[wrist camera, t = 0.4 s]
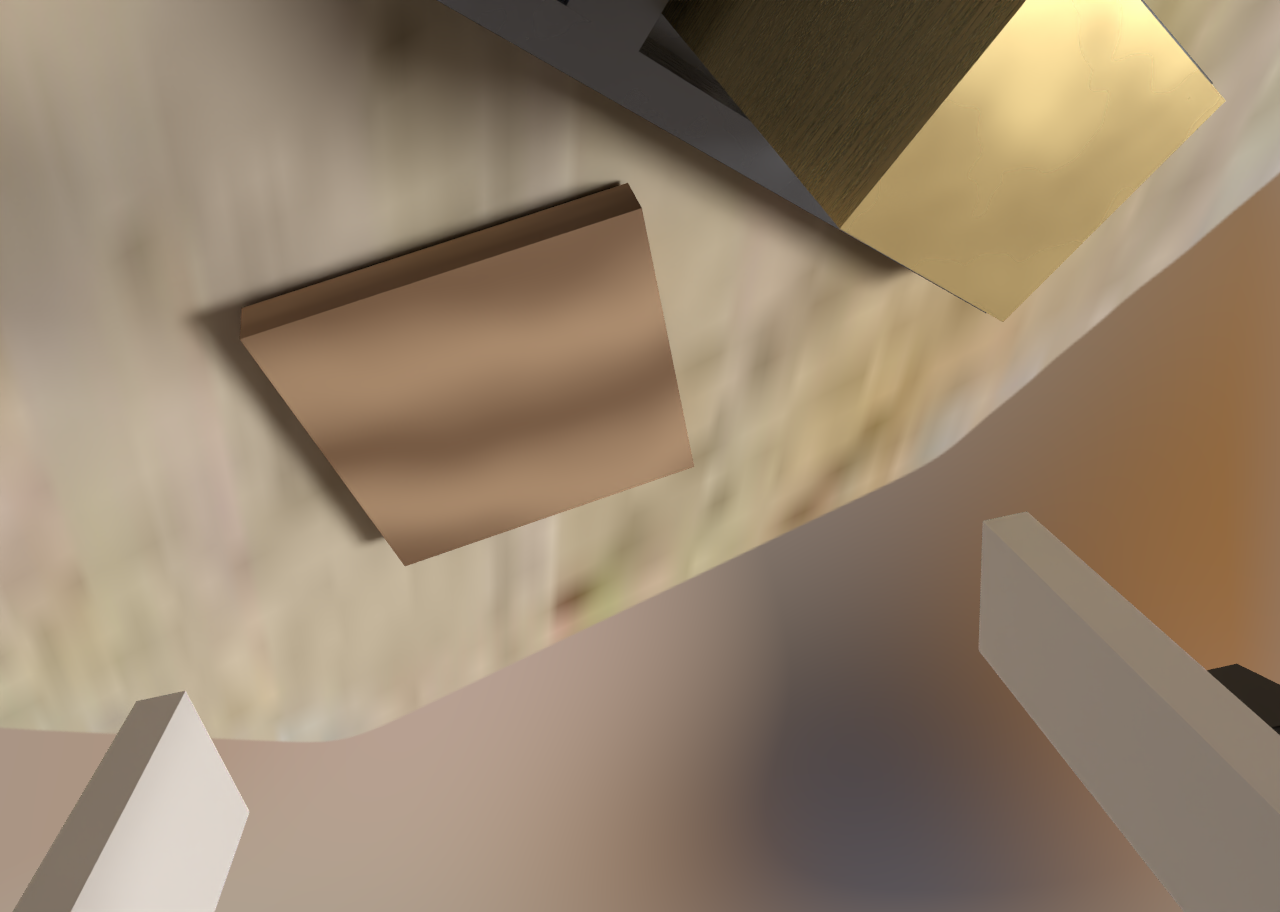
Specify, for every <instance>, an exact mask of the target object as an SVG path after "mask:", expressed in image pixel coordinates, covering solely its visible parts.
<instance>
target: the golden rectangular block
mask: <svg viewBox="0 0 1280 912" xmlns="http://www.w3.org/2000/svg"><path fill="white" fill-rule="evenodd" d="M661 14H662V15H663V16H664V17H665V18H666V20H667V21H668V22H669V23H670V24H671V26H672V27H673V28H674V29H675V30H676V32H677V33H678V34H679V35H680V36H681V38H682V39H683V40H684V41H685V43H686V44H687V45H688V46H689V47H690V49H691V50H692V51H693V52H694V53H695V55H696V56H697V57H698V58H699V59H700V61H701V62H702V63H703V64H704V65H705V67H706V68H707V69H708V70H709V72H710V73H711V74H712V75H713V76H714V78H715V79H716V80H717V81H718V82H719V84H720V85H721V86H722V87H723V88H724V90H725V91H726V92H727V93H728V94H729V96H730V97H731V98H732V99H733V101H734V102H735V103H736V104H737V105H738V107H739V108H740V109H741V110H742V111H743V113H744V114H745V115H746V116H747V117H748V119H749V120H750V121H751V122H752V123H753V125H754V126H755V127H756V128H757V130H758V131H759V132H760V133H761V134H762V136H763V137H764V138H765V139H766V140H767V142H768V143H769V144H770V145H771V146H772V148H773V149H774V150H775V151H776V152H777V154H778V155H779V156H780V157H781V158H782V160H783V161H784V162H785V163H786V165H787V166H788V167H789V168H790V169H791V171H792V172H793V173H794V174H795V175H796V177H797V178H798V179H799V180H800V181H801V183H802V184H803V185H804V186H805V187H806V189H807V190H808V191H809V192H810V194H811V195H812V196H813V197H814V198H815V200H816V201H817V202H818V203H819V204H820V206H821V207H822V208H823V209H824V210H825V212H826V213H827V214H828V215H829V216H830V218H831V219H832V220H833V221H834V223H835V224H836V225H837V226H838V227H839V229H841V230H843V231H844V232H846V233H848V234H850V235H851V236H853V237H855V238H857V239H858V240H860V241H862V242H864V243H865V244H867V245H869V246H871V247H872V248H874V249H876V250H878V251H879V252H881V253H883V254H885V255H886V256H888V257H890V258H892V259H893V260H895V261H897V262H899V263H900V264H902V265H904V266H906V267H907V268H909V269H911V270H913V271H914V272H916V273H918V274H920V275H921V276H923V277H925V278H927V279H928V280H930V281H932V282H934V283H935V284H937V285H939V286H941V287H942V288H944V289H946V290H948V291H949V292H951V293H953V294H955V295H956V296H958V297H960V298H962V299H963V300H965V301H967V302H969V303H970V304H972V305H974V306H976V307H977V308H979V309H981V310H983V311H984V312H986V313H988V314H990V315H991V316H993V317H995V318H997V319H998V320H1000V321H1002V322H1004V321H1005V320H1006V319H1007V318H1008V317H1009V316H1010V315H1011V314H1012V313H1013V312H1014V311H1015V310H1016V309H1017V308H1018V307H1019V306H1020V305H1021V304H1022V303H1023V302H1024V301H1025V300H1026V299H1027V298H1028V297H1029V296H1030V295H1031V294H1032V293H1033V292H1034V291H1035V290H1036V289H1037V288H1038V287H1039V286H1040V285H1041V284H1042V283H1043V282H1044V281H1045V280H1046V279H1047V278H1048V277H1049V276H1050V275H1051V274H1052V273H1053V272H1054V271H1055V270H1056V269H1057V268H1058V267H1059V266H1060V265H1061V264H1062V263H1063V262H1064V261H1065V260H1066V259H1067V258H1068V257H1069V256H1070V255H1071V254H1072V253H1073V252H1074V251H1075V250H1076V249H1077V248H1078V247H1079V246H1080V245H1081V244H1082V243H1083V242H1084V241H1085V240H1086V239H1087V238H1088V237H1089V236H1090V235H1091V234H1092V233H1093V232H1094V231H1095V230H1096V229H1097V228H1098V227H1099V226H1100V225H1101V224H1102V223H1103V222H1104V221H1105V220H1106V219H1107V218H1108V217H1109V216H1110V215H1111V214H1112V213H1113V212H1114V211H1115V210H1116V209H1117V208H1118V207H1119V206H1120V205H1121V204H1122V203H1123V202H1124V201H1125V200H1126V199H1127V198H1128V197H1129V196H1130V195H1131V194H1132V193H1133V192H1134V191H1135V190H1136V189H1137V188H1138V187H1139V186H1140V185H1141V184H1142V183H1143V182H1144V181H1145V180H1146V179H1147V178H1148V177H1149V176H1150V175H1151V174H1152V173H1153V172H1154V171H1155V170H1156V169H1157V168H1158V167H1159V166H1160V165H1161V164H1162V163H1163V162H1164V161H1165V160H1166V159H1167V158H1168V157H1169V156H1171V155H1172V154H1173V153H1174V152H1175V151H1176V150H1177V149H1178V148H1179V147H1180V146H1181V145H1182V144H1183V143H1184V142H1185V141H1186V140H1187V139H1188V138H1189V137H1190V136H1191V135H1192V134H1193V133H1194V132H1195V131H1196V130H1197V129H1198V128H1199V127H1200V126H1201V125H1202V124H1203V123H1204V122H1205V121H1206V120H1207V119H1208V118H1209V117H1210V116H1211V115H1212V114H1213V113H1214V112H1215V111H1216V110H1217V109H1218V108H1219V107H1220V106H1221V105H1222V104H1223V103H1224V102H1225V99H1224V98H1223V97H1222V96H1221V95H1220V94H1219V92H1218V91H1217V90H1216V89H1215V88H1214V86H1213V85H1212V84H1211V83H1210V82H1209V81H1208V79H1207V78H1206V77H1205V76H1204V75H1203V73H1202V72H1201V71H1200V70H1199V69H1198V68H1197V66H1196V65H1195V64H1194V63H1193V62H1192V60H1191V59H1190V58H1189V57H1188V56H1187V55H1186V53H1185V52H1184V51H1183V50H1182V49H1181V47H1180V46H1179V45H1178V44H1177V43H1176V42H1175V40H1174V39H1173V38H1172V37H1171V36H1170V34H1169V33H1168V32H1167V31H1166V30H1165V29H1164V27H1163V26H1162V25H1161V24H1160V23H1159V21H1158V20H1157V19H1156V18H1155V17H1154V16H1153V14H1152V13H1151V12H1150V11H1149V10H1148V9H1147V7H1146V6H1145V5H1144V4H1143V3H1142V1H1141V0H669V1H668V3H667V4H666V6H665V8H664V9H663V11H662V13H661Z"/></svg>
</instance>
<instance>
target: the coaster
mask: <svg viewBox="0 0 1280 912" xmlns="http://www.w3.org/2000/svg"><path fill="white" fill-rule="evenodd" d="M240 340H241V342H242V343H243V345H244V346H245V347H246V349H247V350H248V351H249V353H250V354H251V356H252V357H253V358H254V360H255V361H256V362H257V364H258V365H259V367H260V368H261V369H262V371H263V372H264V373H265V375H266V376H267V378H268V379H269V380H270V382H271V383H272V384H273V386H274V387H275V388H276V390H277V391H278V393H279V394H280V395H281V397H282V398H283V399H284V401H285V402H286V404H287V405H288V406H289V408H290V409H291V410H292V412H293V413H294V415H295V416H296V417H297V419H298V420H299V421H300V423H301V424H302V426H303V427H304V428H305V430H306V431H307V432H308V434H309V435H310V437H311V438H312V439H313V441H314V442H315V443H316V445H317V446H318V448H319V449H320V450H321V452H322V453H323V454H324V456H325V457H326V459H327V460H328V461H329V463H330V464H331V465H332V467H333V468H334V469H335V471H336V472H337V474H338V475H339V476H340V478H341V479H342V480H343V482H344V483H345V485H346V486H347V487H348V489H349V490H350V491H351V493H352V494H353V496H354V497H355V498H356V500H357V501H358V502H359V504H360V505H361V507H362V508H363V509H364V511H365V512H366V513H367V515H368V516H369V518H370V519H371V520H372V522H373V523H374V524H375V526H376V527H377V529H378V530H379V531H380V533H381V534H382V535H383V537H384V538H385V540H386V541H387V542H388V544H389V545H390V546H391V548H392V549H393V550H394V552H395V553H396V555H397V556H398V557H399V559H400V560H401V561H402V563H403V564H404V566H407V565H410V564H413V563H416V562H419V561H422V560H425V559H427V558H430V557H433V556H436V555H439V554H442V553H445V552H448V551H451V550H454V549H456V548H459V547H462V546H465V545H468V544H471V543H474V542H477V541H480V540H483V539H485V538H488V537H491V536H494V535H497V534H500V533H503V532H506V531H509V530H512V529H514V528H517V527H520V526H523V525H526V524H529V523H532V522H535V521H538V520H541V519H544V518H546V517H549V516H552V515H555V514H558V513H561V512H564V511H567V510H570V509H573V508H575V507H578V506H581V505H584V504H587V503H590V502H593V501H596V500H599V499H602V498H604V497H607V496H610V495H613V494H616V493H619V492H622V491H625V490H628V489H631V488H633V487H636V486H639V485H642V484H645V483H648V482H651V481H654V480H657V479H660V478H662V477H665V476H668V475H671V474H674V473H677V472H680V471H683V470H686V469H689V468H692V467H694V464H693V459H692V454H691V449H690V444H689V439H688V434H687V429H686V424H685V419H684V415H683V410H682V405H681V400H680V395H679V390H678V385H677V380H676V375H675V370H674V365H673V360H672V355H671V350H670V346H669V341H668V336H667V331H666V326H665V321H664V316H663V311H662V306H661V301H660V296H659V291H658V286H657V281H656V276H655V272H654V267H653V262H652V257H651V252H650V247H649V242H648V237H647V232H646V227H645V222H644V217H643V212H642V208H641V206H640V204H639V202H638V201H637V199H636V197H635V195H634V193H633V192H632V190H631V188H630V186H629V184H628V183H626V184H623V185H620V186H617V187H614V188H611V189H608V190H604V191H601V192H598V193H595V194H592V195H589V196H586V197H583V198H580V199H577V200H574V201H571V202H567V203H564V204H561V205H558V206H555V207H552V208H549V209H546V210H543V211H540V212H537V213H534V214H530V215H527V216H524V217H521V218H518V219H515V220H512V221H509V222H506V223H503V224H500V225H497V226H493V227H490V228H487V229H484V230H481V231H478V232H475V233H472V234H469V235H466V236H463V237H460V238H456V239H453V240H450V241H447V242H444V243H441V244H438V245H435V246H432V247H429V248H426V249H423V250H419V251H416V252H413V253H410V254H407V255H404V256H401V257H398V258H395V259H392V260H389V261H386V262H382V263H379V264H376V265H373V266H370V267H367V268H364V269H361V270H358V271H355V272H352V273H349V274H345V275H342V276H339V277H336V278H333V279H330V280H327V281H324V282H321V283H318V284H315V285H312V286H308V287H305V288H302V289H299V290H296V291H293V292H290V293H287V294H284V295H281V296H278V297H275V298H271V299H268V300H265V301H262V302H259V303H256V304H253V305H250V306H247V307H244V308H242V311H241V327H240Z"/></svg>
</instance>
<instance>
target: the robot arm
mask: <svg viewBox="0 0 1280 912" xmlns="http://www.w3.org/2000/svg"><path fill="white" fill-rule="evenodd" d="M980 596H981V597H980V628H979V651H980V653H981V654H982V655H983V656H984V658H985V659H986V660H987V662H988V663H989V664H990V665H991V667H992V668H993V669H994V670H995V672H996V673H997V674H998V676H999V677H1000V678H1001V679H1002V681H1003V682H1004V683H1005V684H1006V686H1007V687H1008V688H1009V689H1010V691H1011V692H1012V693H1013V695H1014V696H1015V697H1016V698H1017V700H1018V701H1019V702H1020V703H1021V705H1022V706H1023V707H1024V709H1025V710H1026V711H1027V713H1028V714H1029V715H1030V716H1031V718H1032V719H1033V720H1034V721H1035V723H1036V724H1037V725H1038V726H1039V728H1040V729H1041V730H1042V732H1043V733H1044V734H1045V735H1046V737H1047V738H1048V739H1049V741H1050V742H1051V743H1052V744H1053V746H1054V747H1055V748H1056V750H1057V751H1058V752H1059V753H1060V755H1061V756H1062V757H1063V758H1064V760H1065V761H1066V762H1067V764H1068V765H1069V766H1070V767H1071V768H1072V770H1073V771H1074V773H1075V774H1076V775H1077V776H1078V778H1079V779H1080V780H1081V781H1082V783H1083V784H1084V785H1085V787H1086V788H1087V789H1088V790H1089V792H1090V793H1091V794H1092V795H1093V797H1094V798H1095V799H1096V801H1097V802H1098V803H1099V804H1100V805H1101V807H1102V808H1103V810H1104V811H1105V812H1106V813H1107V815H1108V816H1109V817H1110V818H1111V820H1112V821H1113V822H1114V824H1115V825H1116V826H1117V827H1118V829H1119V830H1120V831H1121V832H1122V834H1123V835H1124V836H1125V838H1126V839H1127V840H1128V841H1129V843H1130V844H1131V845H1132V846H1133V848H1134V849H1135V850H1136V852H1137V853H1138V854H1139V855H1140V857H1141V858H1142V859H1143V861H1144V862H1145V863H1146V864H1147V865H1148V867H1149V868H1150V869H1151V871H1152V872H1153V873H1154V875H1155V876H1156V877H1157V878H1158V880H1159V881H1160V882H1161V883H1162V885H1163V886H1164V887H1165V889H1166V890H1167V891H1168V892H1169V894H1170V895H1171V896H1172V898H1173V899H1174V900H1175V901H1176V903H1177V904H1178V905H1179V906H1180V908H1181V909H1182V910H1183V912H1280V685H1279V684H1277V683H1275V682H1273V681H1271V680H1269V679H1267V678H1265V677H1263V676H1261V675H1259V674H1257V673H1255V672H1253V671H1251V670H1249V669H1247V668H1244V667H1242V666H1240V665H1238V664H1234V665H1229V666H1225V667H1221V668H1216V669H1211V670H1205V669H1204V668H1203V667H1202V666H1201V665H1200V664H1199V663H1198V662H1196V661H1195V660H1194V659H1193V658H1192V657H1191V656H1190V655H1188V654H1187V653H1186V652H1185V651H1184V650H1183V649H1182V648H1180V647H1179V646H1178V645H1177V644H1176V643H1175V642H1174V641H1173V640H1172V639H1170V638H1169V637H1168V636H1167V635H1166V634H1165V633H1164V632H1162V631H1161V630H1160V629H1159V628H1158V627H1156V625H1154V624H1153V623H1152V622H1151V621H1150V620H1149V619H1148V618H1147V617H1145V616H1144V615H1143V614H1142V613H1141V612H1140V611H1139V610H1138V609H1136V608H1135V607H1134V606H1133V605H1132V604H1131V603H1130V602H1129V601H1127V600H1126V599H1125V598H1124V597H1123V596H1122V595H1121V594H1119V593H1118V592H1117V591H1116V590H1115V589H1114V588H1113V587H1112V586H1110V585H1109V584H1108V583H1107V582H1106V581H1105V580H1104V579H1103V578H1101V577H1100V576H1099V575H1098V574H1097V573H1096V572H1095V571H1093V570H1092V569H1091V568H1090V567H1089V566H1088V565H1087V564H1086V563H1084V562H1083V561H1082V560H1081V559H1080V558H1079V557H1078V556H1076V555H1075V554H1074V553H1073V552H1072V551H1071V550H1070V549H1069V548H1067V547H1066V546H1065V545H1064V544H1063V543H1062V542H1061V541H1060V540H1058V539H1057V538H1056V537H1055V536H1054V535H1053V534H1051V532H1049V531H1048V530H1047V529H1046V528H1045V527H1044V526H1042V525H1041V524H1040V523H1039V522H1038V521H1037V520H1036V519H1035V518H1034V517H1032V516H1031V515H1030V514H1029V513H1028V512H1023V513H1018V514H1013V515H1009V516H1004V517H1000V518H995V519H990V520H985V521H983V532H982V564H981V595H980ZM248 815H249V810H248V808H247V806H246V804H245V802H244V801H243V798H242V797H241V795H240V793H239V791H238V789H237V787H236V785H235V783H234V781H233V780H232V778H231V776H230V774H229V772H228V770H227V768H226V766H225V765H224V763H223V761H222V759H221V757H220V755H219V753H218V751H217V749H216V747H215V745H214V744H213V742H212V740H211V738H210V736H209V734H208V732H207V730H206V728H205V727H204V725H203V723H202V721H201V719H200V717H199V715H198V713H197V711H196V709H195V708H194V706H193V704H192V702H191V700H190V698H189V696H188V694H187V692H186V691H182V692H178V693H173V694H168V695H164V696H159V697H154V698H150V699H145V700H140V701H136V703H135V705H134V706H133V708H132V710H131V712H130V713H129V715H128V717H127V718H126V720H125V722H124V723H123V725H122V727H121V729H120V730H119V732H118V734H117V735H116V737H115V739H114V741H113V743H112V744H111V746H110V747H109V749H108V751H107V753H106V754H105V756H104V758H103V759H102V761H101V763H100V764H99V766H98V768H97V769H96V771H95V773H94V775H93V776H92V778H91V780H90V781H89V783H88V785H87V786H86V788H85V790H84V792H83V793H82V795H81V797H80V798H79V800H78V802H77V804H76V805H75V807H74V809H73V810H72V812H71V814H70V815H69V817H68V819H67V820H66V822H65V824H64V825H63V827H62V829H61V831H60V833H59V834H58V836H57V837H56V839H55V841H54V842H53V844H52V846H51V848H50V850H49V851H48V853H47V855H46V856H45V858H44V859H43V861H42V863H41V865H40V866H39V868H38V870H37V871H36V873H35V875H34V876H33V878H32V880H31V882H30V883H29V885H28V887H27V888H26V890H25V892H24V893H23V895H22V897H21V899H20V900H19V902H18V904H17V905H16V907H15V909H14V911H13V912H214V911H215V909H216V906H217V903H218V900H219V897H220V894H221V891H222V888H223V886H224V883H225V880H226V877H227V874H228V872H229V868H230V866H231V863H232V860H233V857H234V855H235V852H236V849H237V846H238V843H239V840H240V838H241V834H242V832H243V829H244V826H245V823H246V820H247V818H248Z"/></svg>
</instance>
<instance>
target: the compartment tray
mask: <svg viewBox="0 0 1280 912" xmlns="http://www.w3.org/2000/svg"><path fill="white" fill-rule="evenodd" d="M437 1H439V2H441V3H443V4H444V5H446V6H448V7H450V8H451V9H453V10H455V11H457V12H458V13H460V14H462V15H464V16H465V17H467V18H469V19H471V20H472V21H474V22H476V23H478V24H479V25H481V26H483V27H485V28H486V29H488V30H490V31H492V32H493V33H495V34H497V35H499V36H500V37H502V38H504V39H506V40H507V41H509V42H511V43H513V44H515V45H516V46H518V47H520V48H522V49H523V50H525V51H527V52H529V53H530V54H532V55H534V56H536V57H537V58H539V59H541V60H543V61H544V62H546V63H548V64H550V65H551V66H553V67H555V68H557V69H558V70H560V71H562V72H564V73H565V74H567V75H569V76H571V77H572V78H574V79H576V80H578V81H579V82H581V83H583V84H585V85H586V86H588V87H590V88H592V89H593V90H595V91H597V92H599V93H600V94H602V95H604V96H606V97H607V98H609V99H611V100H613V101H614V102H616V103H618V104H620V105H621V106H623V107H625V108H627V109H629V110H630V111H632V112H634V113H636V114H637V115H639V116H641V117H643V118H644V119H646V120H648V121H650V122H651V123H653V124H655V125H657V126H658V127H660V128H662V129H664V130H665V131H667V132H669V133H671V134H672V135H674V136H676V137H678V138H679V139H681V140H683V141H685V142H686V143H688V144H690V145H692V146H693V147H695V148H697V149H699V150H700V151H702V152H704V153H706V154H707V155H709V156H711V157H713V158H714V159H716V160H718V161H720V162H721V163H723V164H725V165H727V166H728V167H730V168H732V169H734V170H736V171H737V172H739V173H741V174H743V175H744V176H746V177H748V178H750V179H751V180H753V181H755V182H757V183H758V184H760V185H762V186H764V187H765V188H767V189H769V190H771V191H772V192H774V193H776V194H778V195H779V196H781V197H783V198H785V199H786V200H788V201H790V202H792V203H793V204H795V205H797V206H799V207H800V208H802V209H804V210H806V211H807V212H809V213H811V214H813V215H814V216H816V217H818V218H820V219H821V220H823V221H825V222H827V223H828V224H830V225H832V226H834V227H835V228H837V229H839V227H838V226H837V225H836V224H835V223H834V221H833V220H832V219H831V218H830V216H829V215H828V214H827V213H826V212H825V210H824V209H823V208H822V207H821V206H820V204H819V203H818V202H817V201H816V200H815V198H814V197H813V196H812V195H811V194H810V192H809V191H808V190H807V189H806V187H805V186H804V185H803V184H802V183H801V181H800V180H799V179H798V178H797V177H796V175H795V174H794V173H793V172H792V171H791V169H790V168H789V167H788V166H787V165H786V163H785V162H784V161H783V160H782V158H781V157H780V156H779V155H778V154H777V152H776V151H775V150H774V149H773V148H772V146H771V145H770V144H769V143H768V142H767V140H766V139H765V138H764V137H763V136H762V134H761V133H760V132H759V131H758V130H757V128H756V127H755V126H754V125H753V123H752V122H751V121H750V120H749V119H748V117H747V116H746V115H745V114H744V113H743V111H742V110H741V109H740V108H739V107H738V105H737V104H736V103H735V102H734V101H733V99H732V98H731V97H730V96H729V94H728V93H727V92H726V91H725V90H724V88H723V87H722V86H721V85H720V84H719V82H718V81H717V80H716V79H715V78H714V76H713V75H712V74H711V73H710V72H709V70H708V69H707V68H706V67H705V65H704V64H703V63H702V62H701V61H700V59H699V58H698V57H697V56H696V55H695V53H694V52H693V51H692V50H691V49H690V47H689V46H688V45H687V44H686V43H685V41H684V40H683V39H682V38H681V36H680V35H679V34H678V33H677V32H676V30H675V29H674V28H673V27H672V26H671V24H670V23H669V22H668V21H667V20H666V18H665V17H664V16H663V15H662V14H661V13H662V11H663V9H664V8H665V6H666V4H667V3H668V1H669V0H437ZM1141 1H1142V3H1143V4H1144V5H1145V6H1146V7H1147V9H1148V10H1149V11H1150V12H1151V13H1152V14H1153V16H1154V17H1155V18H1156V19H1157V20H1158V21H1159V23H1160V24H1161V25H1162V26H1163V27H1164V29H1165V30H1166V31H1167V32H1168V33H1169V34H1170V36H1171V37H1172V38H1173V39H1174V40H1175V42H1176V43H1177V44H1178V45H1179V46H1180V47H1181V49H1182V50H1183V51H1184V52H1185V53H1186V55H1187V56H1188V57H1189V58H1190V59H1191V60H1192V62H1193V63H1194V64H1195V65H1196V66H1197V68H1198V69H1199V70H1200V71H1201V72H1202V73H1203V75H1204V76H1205V77H1206V78H1207V79H1208V81H1209V82H1210V83H1211V84H1212V81H1211V80H1210V79H1209V78H1208V77H1207V76H1206V74H1205V73H1204V72H1203V71H1202V70H1201V68H1200V67H1199V66H1198V65H1197V64H1196V63H1195V61H1194V60H1193V59H1192V58H1191V57H1190V55H1189V54H1188V53H1187V52H1186V51H1185V49H1184V48H1183V47H1182V46H1181V45H1180V44H1179V42H1178V41H1177V40H1176V39H1175V38H1174V36H1173V35H1172V34H1171V33H1170V32H1169V30H1168V29H1167V28H1166V27H1165V26H1164V25H1163V23H1162V22H1161V21H1160V20H1159V19H1158V17H1157V16H1156V15H1155V14H1154V13H1153V12H1152V10H1151V9H1150V8H1149V7H1148V6H1147V4H1146V3H1145V2H1144V1H1143V0H1141ZM839 230H841V229H839ZM841 231H843V230H841ZM843 232H844V231H843ZM844 233H846V232H844ZM846 234H848V233H846ZM848 235H850V234H848ZM850 236H851V235H850ZM851 237H853V236H851ZM853 238H855V237H853ZM855 239H857V238H855ZM857 240H858V239H857ZM858 241H860V240H858ZM860 242H862V241H860ZM862 243H864V242H862ZM864 244H865V243H864ZM865 245H867V244H865ZM867 246H869V245H867ZM869 247H871V246H869ZM871 248H872V247H871ZM872 249H874V248H872ZM874 250H876V249H874ZM876 251H878V250H876ZM878 252H879V251H878ZM879 253H881V252H879ZM881 254H883V253H881ZM883 255H885V254H883ZM885 256H886V255H885ZM886 257H888V256H886ZM888 258H890V257H888ZM890 259H892V258H890ZM892 260H893V259H892ZM893 261H895V260H893ZM895 262H897V261H895ZM897 263H899V262H897ZM899 264H900V263H899ZM900 265H902V264H900ZM902 266H904V265H902ZM904 267H906V266H904ZM906 268H907V267H906ZM907 269H909V268H907ZM909 270H911V269H909ZM911 271H913V270H911ZM913 272H914V271H913ZM914 273H916V272H914ZM916 274H918V273H916ZM918 275H920V274H918ZM920 276H921V275H920ZM921 277H923V276H921ZM923 278H925V277H923ZM925 279H927V278H925ZM927 280H928V279H927ZM928 281H930V280H928ZM930 282H932V281H930ZM932 283H934V282H932ZM934 284H935V283H934ZM935 285H937V284H935ZM937 286H939V285H937ZM939 287H941V286H939ZM941 288H942V287H941ZM942 289H944V288H942ZM944 290H946V289H944ZM946 291H948V290H946ZM948 292H949V291H948ZM949 293H951V292H949ZM951 294H953V293H951ZM953 295H955V294H953ZM955 296H956V295H955ZM957 297H958V296H957ZM958 298H960V297H958ZM960 299H962V298H960ZM962 300H963V299H962ZM964 301H965V300H964ZM965 302H967V301H965ZM967 303H969V302H967ZM969 304H970V303H969ZM971 305H972V304H971ZM972 306H974V305H972ZM974 307H976V306H974ZM976 308H977V307H976ZM978 309H979V308H978ZM979 310H981V309H979ZM981 311H983V310H981ZM983 312H984V311H983ZM985 313H986V312H985Z"/></svg>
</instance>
